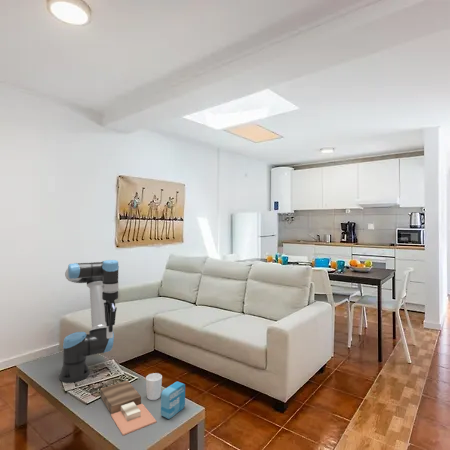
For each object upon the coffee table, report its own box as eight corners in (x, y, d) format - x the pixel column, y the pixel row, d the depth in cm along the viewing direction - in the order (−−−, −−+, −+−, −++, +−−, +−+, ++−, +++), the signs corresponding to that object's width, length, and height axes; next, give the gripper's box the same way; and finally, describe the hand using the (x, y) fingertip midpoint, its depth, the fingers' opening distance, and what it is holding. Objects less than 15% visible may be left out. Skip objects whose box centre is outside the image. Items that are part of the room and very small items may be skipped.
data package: (167, 420, 144) (168, 394, 143) (160, 417, 146) (160, 391, 146) (185, 407, 154) (185, 382, 153) (177, 404, 156) (178, 380, 156)
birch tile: (120, 411, 149) (120, 405, 148) (133, 406, 152) (133, 401, 152) (127, 421, 141) (127, 415, 141) (140, 416, 145) (140, 411, 145)
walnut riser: (100, 396, 161) (100, 388, 161) (127, 387, 169) (127, 380, 169) (111, 414, 147) (111, 406, 146) (140, 404, 155) (141, 396, 155)
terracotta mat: (110, 415, 146) (110, 414, 146) (142, 404, 155) (142, 403, 155) (123, 435, 133) (123, 434, 133) (156, 422, 142) (156, 421, 142)
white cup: (153, 402, 157) (154, 382, 156) (142, 397, 161) (142, 378, 161) (164, 395, 163) (165, 376, 163) (153, 390, 168) (153, 371, 167)
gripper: (98, 289, 164) (98, 335, 165) (106, 294, 153) (106, 343, 154) (113, 287, 168) (113, 332, 169) (122, 292, 158) (121, 340, 159)
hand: (109, 337), depth 162 cm, fingers closed
